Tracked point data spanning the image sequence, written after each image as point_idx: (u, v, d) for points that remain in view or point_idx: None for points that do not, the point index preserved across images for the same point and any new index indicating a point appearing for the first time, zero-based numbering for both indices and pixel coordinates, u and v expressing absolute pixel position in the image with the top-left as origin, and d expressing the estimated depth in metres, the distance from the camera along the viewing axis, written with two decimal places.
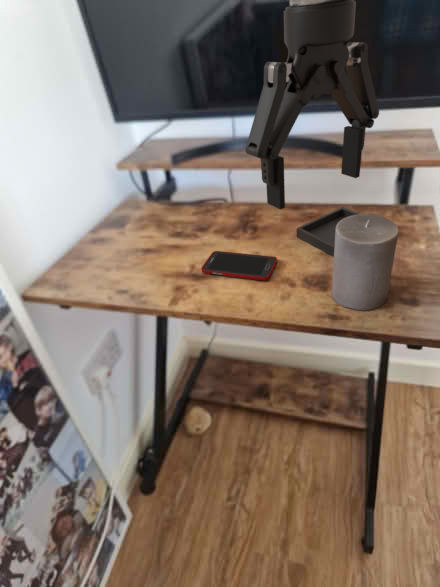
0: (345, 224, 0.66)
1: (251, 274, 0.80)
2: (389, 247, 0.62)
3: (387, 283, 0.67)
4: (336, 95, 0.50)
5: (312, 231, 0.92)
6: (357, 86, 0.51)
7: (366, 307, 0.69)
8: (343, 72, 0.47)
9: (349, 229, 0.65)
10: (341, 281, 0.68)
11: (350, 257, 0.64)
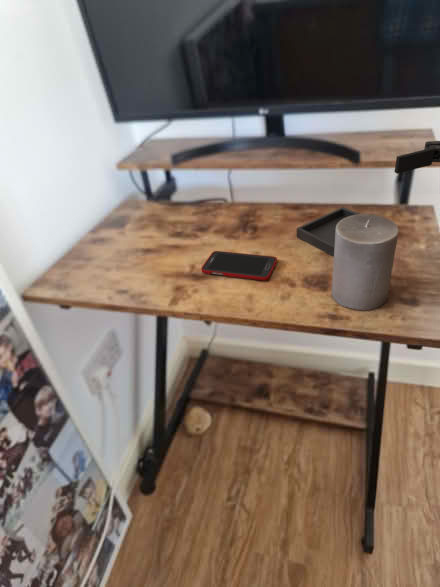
0: (345, 224, 0.66)
1: (251, 274, 0.80)
2: (389, 247, 0.62)
3: (387, 283, 0.67)
4: None
5: (312, 231, 0.92)
6: None
7: (366, 307, 0.69)
8: None
9: (349, 229, 0.65)
10: (341, 281, 0.68)
11: (350, 257, 0.64)
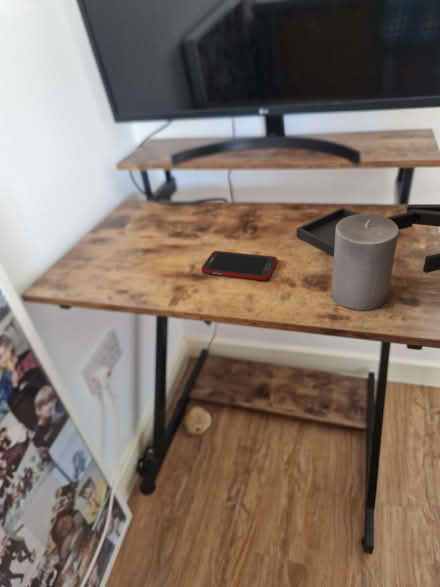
0: (345, 224, 0.66)
1: (251, 274, 0.80)
2: (389, 247, 0.62)
3: (387, 283, 0.67)
4: None
5: (312, 231, 0.92)
6: None
7: (366, 307, 0.69)
8: None
9: (349, 229, 0.65)
10: (341, 281, 0.68)
11: (350, 257, 0.64)
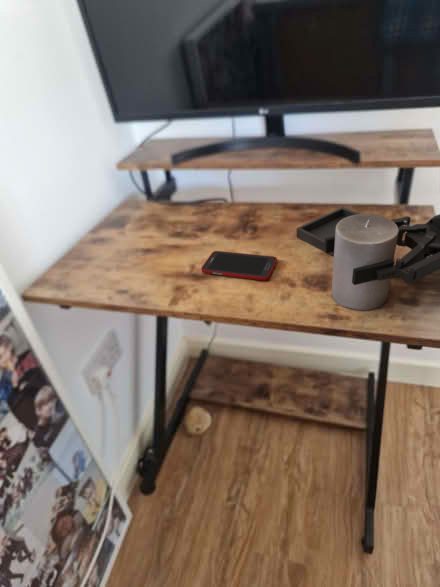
0: (345, 224, 0.66)
1: (251, 274, 0.80)
2: (389, 247, 0.62)
3: (387, 283, 0.67)
4: None
5: (312, 231, 0.92)
6: None
7: (366, 307, 0.69)
8: (430, 238, 0.66)
9: (349, 229, 0.65)
10: (341, 281, 0.68)
11: (351, 257, 0.64)
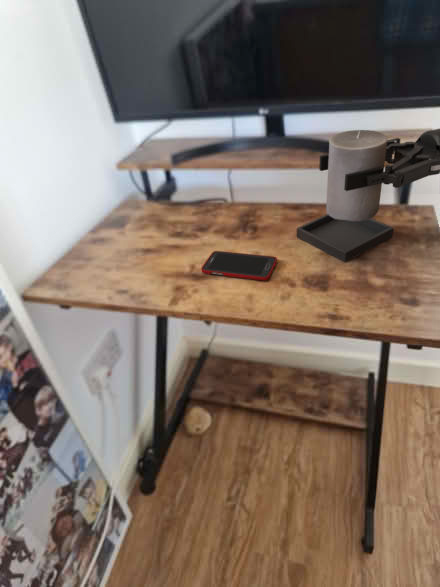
0: (338, 137, 0.71)
1: (251, 274, 0.80)
2: (379, 153, 0.67)
3: (377, 194, 0.72)
4: None
5: (312, 231, 0.92)
6: None
7: (358, 218, 0.74)
8: (417, 150, 0.71)
9: (342, 140, 0.70)
10: (335, 192, 0.73)
11: (343, 165, 0.69)
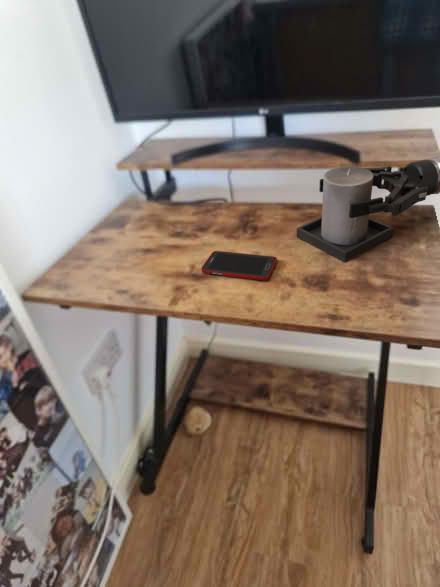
0: (331, 173, 0.82)
1: (251, 274, 0.80)
2: (366, 189, 0.78)
3: (365, 222, 0.83)
4: None
5: (312, 231, 0.92)
6: None
7: (349, 242, 0.85)
8: (404, 180, 0.81)
9: (334, 176, 0.81)
10: (328, 220, 0.84)
11: (335, 198, 0.80)
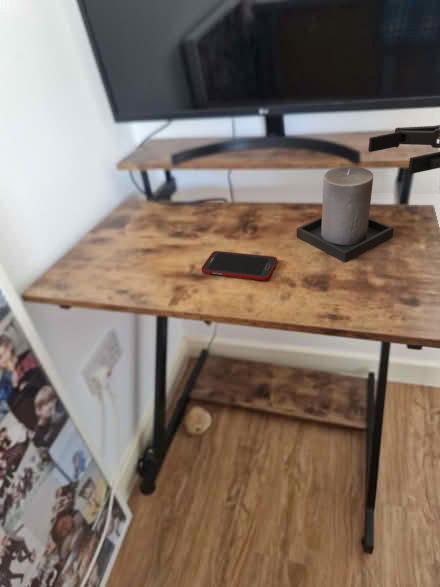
0: (331, 173, 0.82)
1: (251, 274, 0.80)
2: (366, 189, 0.78)
3: (365, 222, 0.83)
4: None
5: (312, 231, 0.92)
6: None
7: (349, 242, 0.85)
8: None
9: (334, 176, 0.81)
10: (328, 220, 0.84)
11: (335, 198, 0.80)
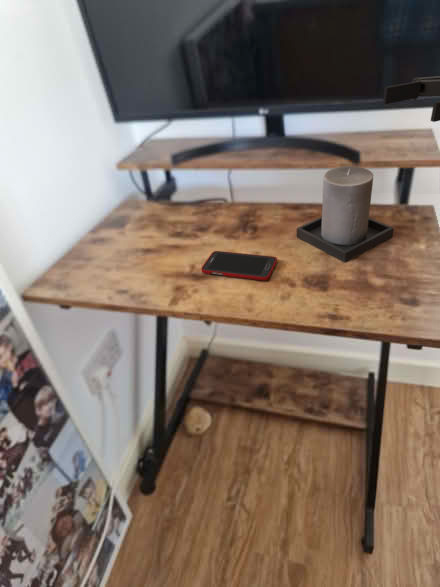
0: (331, 173, 0.82)
1: (251, 274, 0.80)
2: (366, 189, 0.78)
3: (365, 222, 0.83)
4: None
5: (312, 231, 0.92)
6: None
7: (349, 242, 0.85)
8: None
9: (334, 176, 0.81)
10: (328, 220, 0.84)
11: (335, 198, 0.80)
